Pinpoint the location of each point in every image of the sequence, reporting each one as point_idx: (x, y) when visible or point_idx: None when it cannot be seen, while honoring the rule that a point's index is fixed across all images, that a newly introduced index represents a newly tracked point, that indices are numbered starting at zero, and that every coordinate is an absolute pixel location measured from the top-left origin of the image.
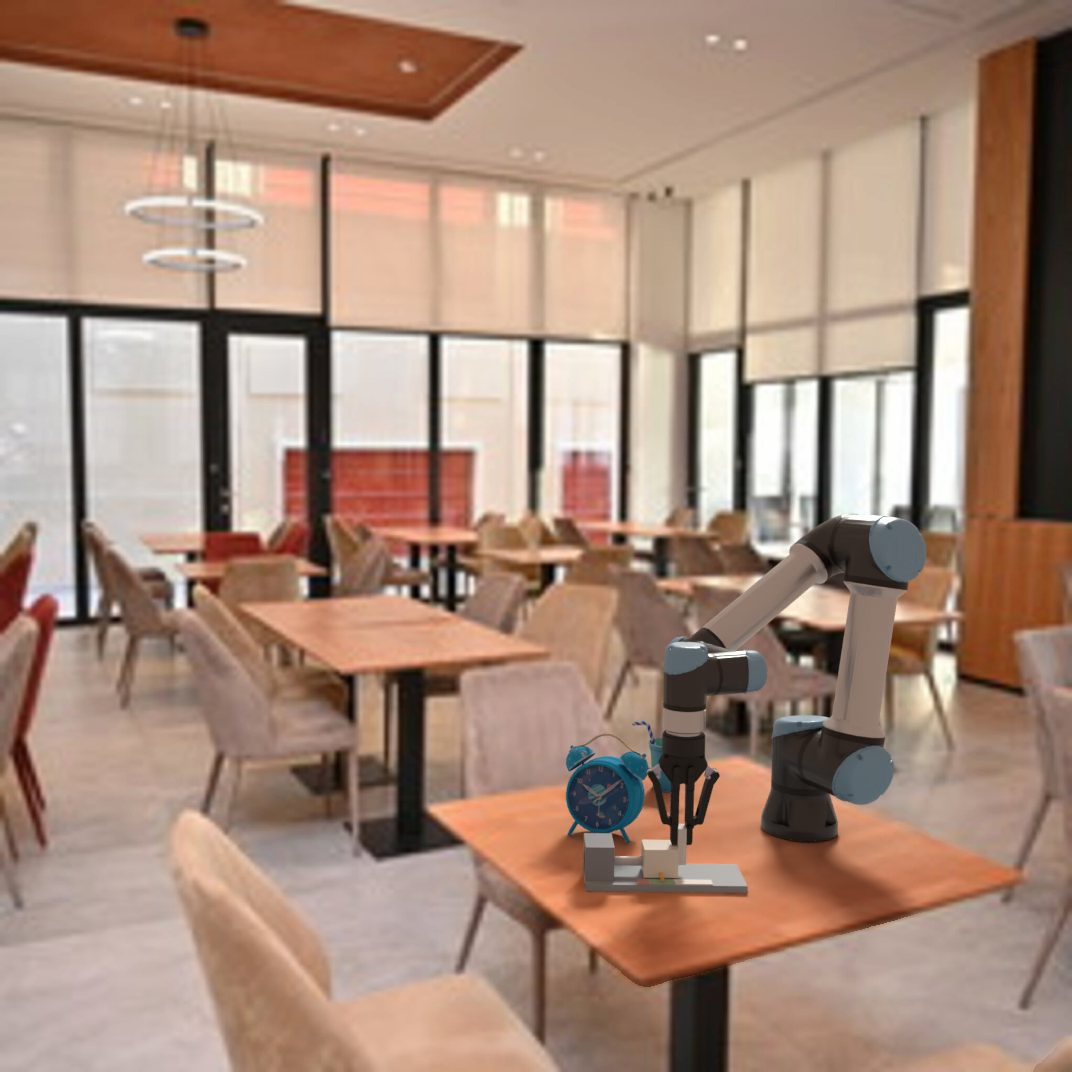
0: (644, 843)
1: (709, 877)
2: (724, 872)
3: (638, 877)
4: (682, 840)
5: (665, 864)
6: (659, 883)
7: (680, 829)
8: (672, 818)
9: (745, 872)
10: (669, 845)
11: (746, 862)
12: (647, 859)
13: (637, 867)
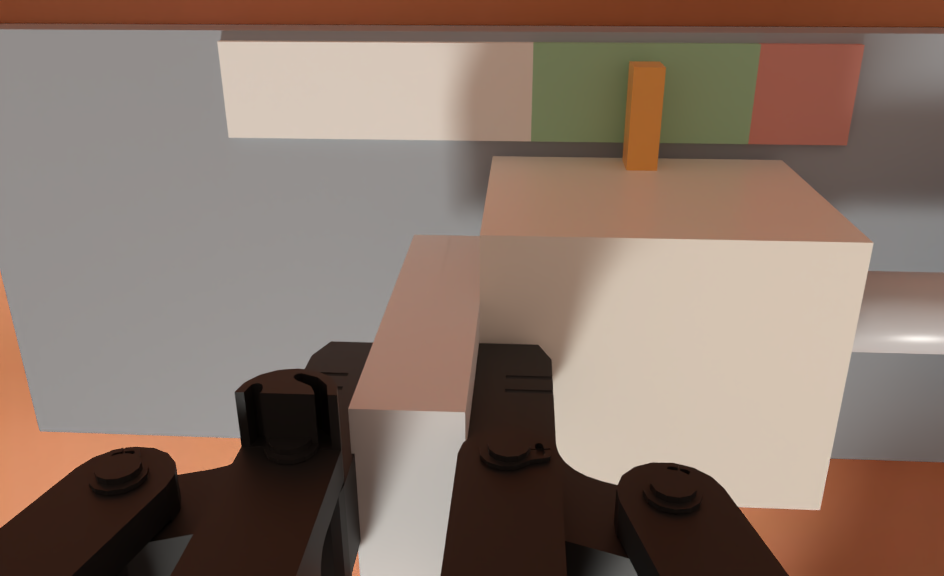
0: (818, 416)
1: (240, 201)
2: (124, 291)
3: None
4: (423, 337)
5: (612, 188)
6: (671, 48)
7: (436, 405)
8: (555, 518)
9: (5, 379)
10: (561, 360)
11: (3, 521)
12: (803, 205)
13: None
